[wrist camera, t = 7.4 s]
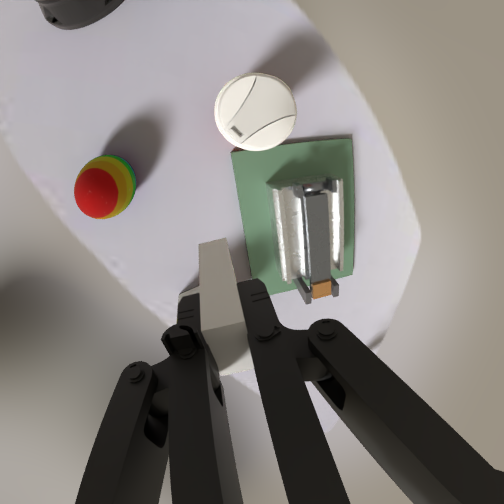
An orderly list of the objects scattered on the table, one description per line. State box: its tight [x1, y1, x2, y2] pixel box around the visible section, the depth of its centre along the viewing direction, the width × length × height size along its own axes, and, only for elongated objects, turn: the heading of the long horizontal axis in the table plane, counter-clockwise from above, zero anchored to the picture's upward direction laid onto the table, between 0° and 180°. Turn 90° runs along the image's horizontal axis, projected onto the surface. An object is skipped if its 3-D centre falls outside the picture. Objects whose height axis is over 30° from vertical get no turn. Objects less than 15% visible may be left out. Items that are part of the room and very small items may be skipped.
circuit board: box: [231, 138, 354, 295], centre depth 42 cm, size 24×18×1 cm
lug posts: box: [292, 275, 339, 304], centre depth 43 cm, size 2×5×8 cm, turn 98°
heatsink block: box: [265, 173, 344, 284], centre depth 38 cm, size 15×10×7 cm
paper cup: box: [214, 73, 297, 151], centre depth 28 cm, size 8×8×14 cm
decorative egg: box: [74, 155, 136, 219], centre depth 30 cm, size 8×8×10 cm
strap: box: [301, 181, 331, 299], centre depth 36 cm, size 17×3×1 cm, turn 9°
